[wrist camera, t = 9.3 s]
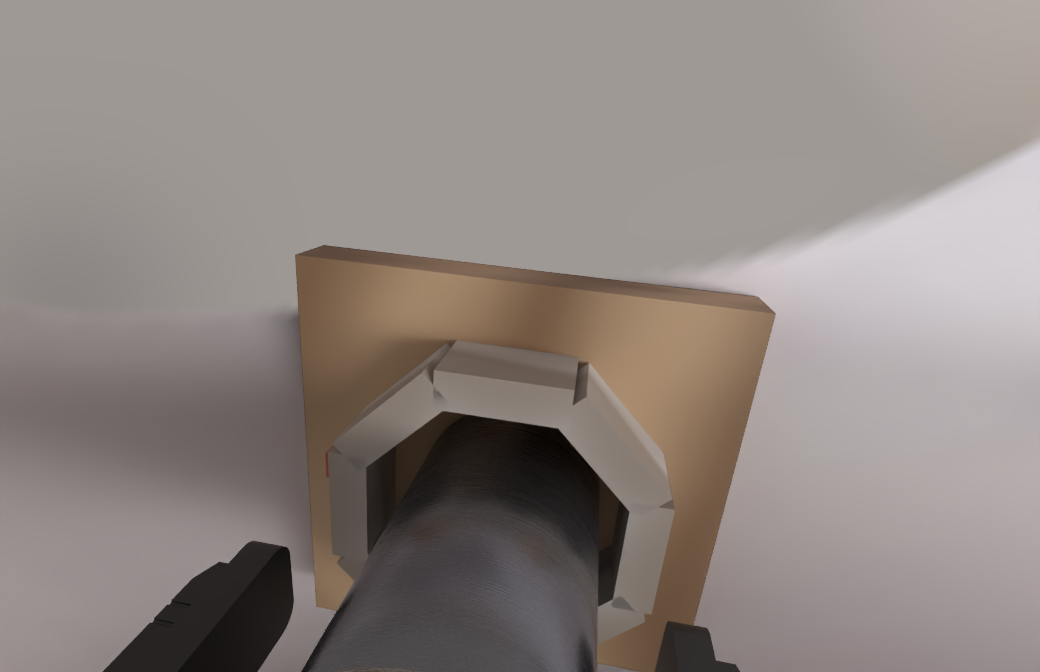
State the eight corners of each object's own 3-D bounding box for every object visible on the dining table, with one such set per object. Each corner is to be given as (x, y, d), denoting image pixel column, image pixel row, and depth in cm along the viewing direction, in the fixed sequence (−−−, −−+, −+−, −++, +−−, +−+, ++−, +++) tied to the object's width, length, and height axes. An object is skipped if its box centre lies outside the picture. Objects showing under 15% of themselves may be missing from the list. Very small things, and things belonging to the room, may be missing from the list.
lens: (616, 419, 14) (638, 968, 5) (590, 574, 16) (568, 1196, 6) (425, 391, 14) (99, 826, 5) (421, 543, 16) (173, 1072, 7)
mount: (758, 297, 14) (805, 343, 11) (672, 638, 18) (688, 746, 15) (323, 245, 15) (246, 271, 12) (337, 573, 19) (282, 659, 16)
